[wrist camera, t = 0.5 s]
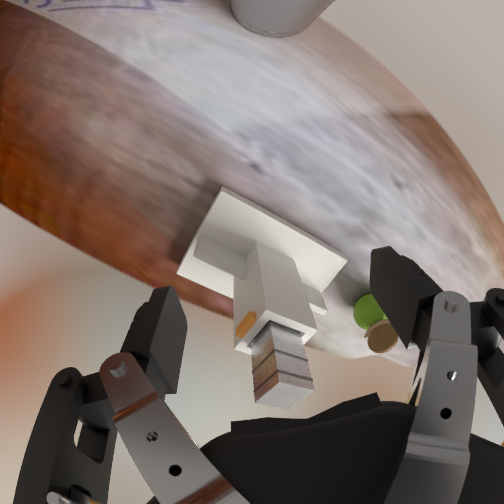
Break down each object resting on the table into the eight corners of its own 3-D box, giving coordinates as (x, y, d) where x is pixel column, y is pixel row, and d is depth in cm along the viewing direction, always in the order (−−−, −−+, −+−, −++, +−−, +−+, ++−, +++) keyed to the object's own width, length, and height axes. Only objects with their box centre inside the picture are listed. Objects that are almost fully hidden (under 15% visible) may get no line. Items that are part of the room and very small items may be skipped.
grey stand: (179, 265, 36) (156, 345, 24) (222, 185, 31) (213, 242, 19) (292, 314, 41) (310, 392, 29) (342, 253, 36) (385, 324, 24)
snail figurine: (388, 299, 41) (421, 352, 31) (355, 319, 43) (381, 376, 32) (379, 277, 39) (416, 332, 28) (343, 299, 40) (371, 359, 30)
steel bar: (245, 276, 34) (254, 402, 19) (259, 255, 32) (279, 381, 17) (268, 287, 35) (289, 409, 20) (283, 267, 33) (315, 390, 18)
